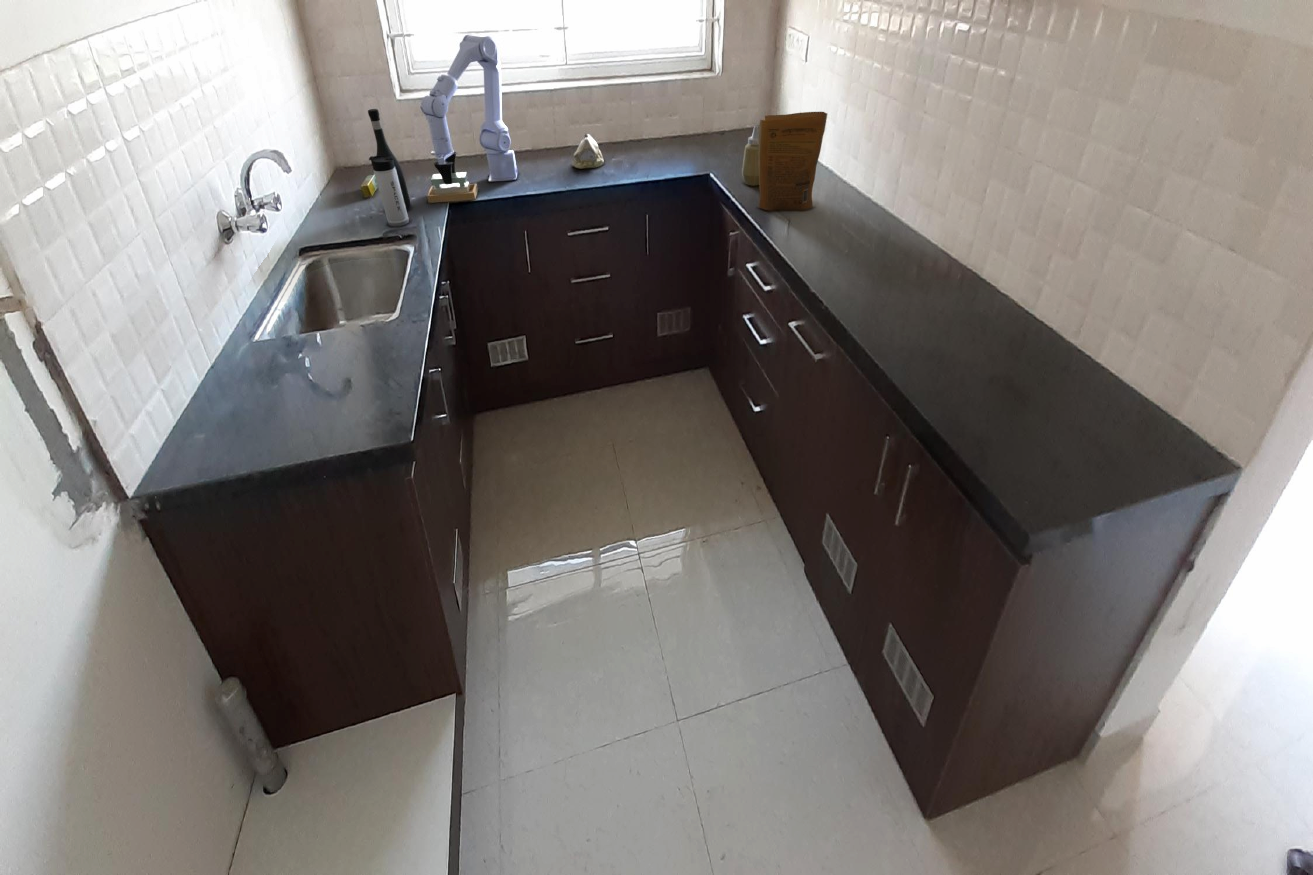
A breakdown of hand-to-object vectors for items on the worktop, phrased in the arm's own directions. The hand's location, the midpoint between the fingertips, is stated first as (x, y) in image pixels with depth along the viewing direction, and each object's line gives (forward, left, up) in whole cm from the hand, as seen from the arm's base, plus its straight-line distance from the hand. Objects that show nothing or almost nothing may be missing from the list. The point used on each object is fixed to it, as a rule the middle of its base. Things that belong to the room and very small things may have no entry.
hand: (450, 180), depth 234 cm
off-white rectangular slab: (0, 0, -5) cm, 5 cm away
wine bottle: (+16, +8, -6) cm, 19 cm away
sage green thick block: (0, 0, -2) cm, 2 cm away
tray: (0, 0, -5) cm, 5 cm away
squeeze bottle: (-100, +7, -6) cm, 100 cm away
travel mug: (+14, +20, -6) cm, 25 cm away
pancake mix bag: (-105, +31, -6) cm, 109 cm away
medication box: (+29, -10, -6) cm, 31 cm away
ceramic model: (-46, -26, -6) cm, 53 cm away
